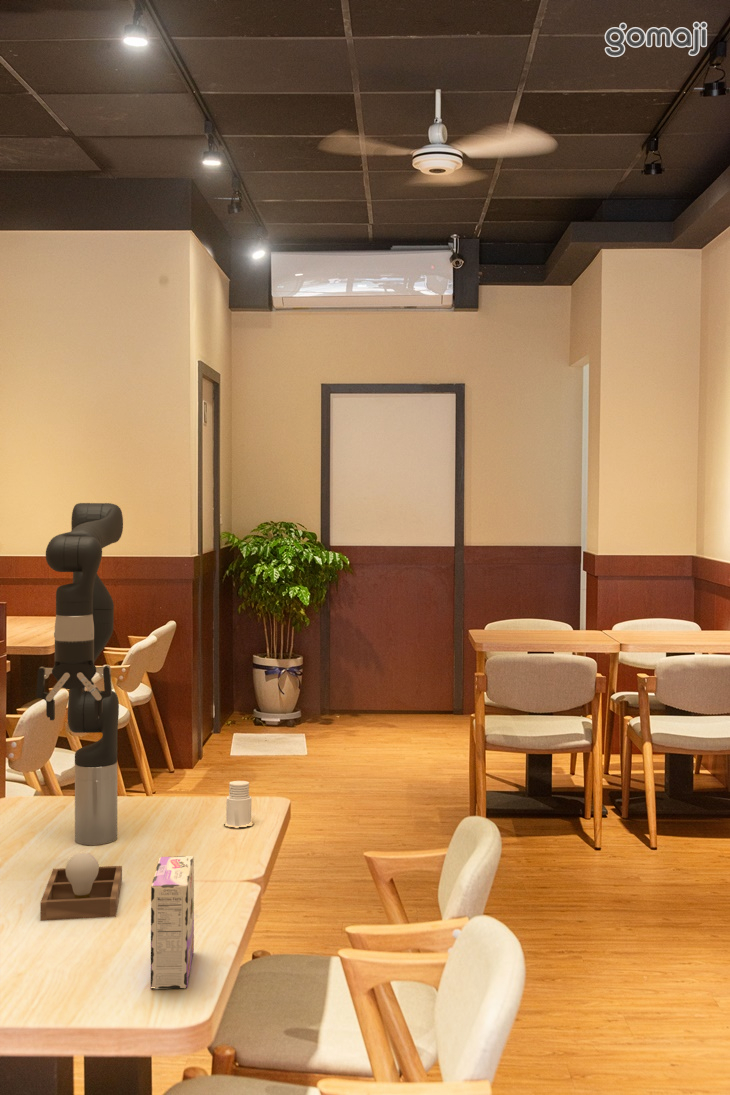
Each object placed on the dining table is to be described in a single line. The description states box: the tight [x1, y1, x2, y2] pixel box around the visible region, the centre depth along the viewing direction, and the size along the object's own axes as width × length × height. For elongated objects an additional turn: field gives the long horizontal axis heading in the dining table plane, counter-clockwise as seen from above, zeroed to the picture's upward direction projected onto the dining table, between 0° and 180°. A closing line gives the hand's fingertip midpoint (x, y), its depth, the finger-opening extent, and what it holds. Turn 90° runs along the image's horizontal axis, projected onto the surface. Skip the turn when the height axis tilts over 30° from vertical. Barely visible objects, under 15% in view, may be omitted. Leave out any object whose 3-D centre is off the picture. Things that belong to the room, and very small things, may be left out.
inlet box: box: [39, 865, 123, 921], centre depth 198 cm, size 18×13×4 cm
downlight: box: [225, 780, 252, 826], centre depth 250 cm, size 8×7×10 cm
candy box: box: [150, 855, 195, 989], centre depth 170 cm, size 14×6×16 cm, turn 5°
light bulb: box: [65, 851, 100, 899], centre depth 194 cm, size 6×6×10 cm
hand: (74, 719), depth 211 cm, fingers open, 8 cm apart
